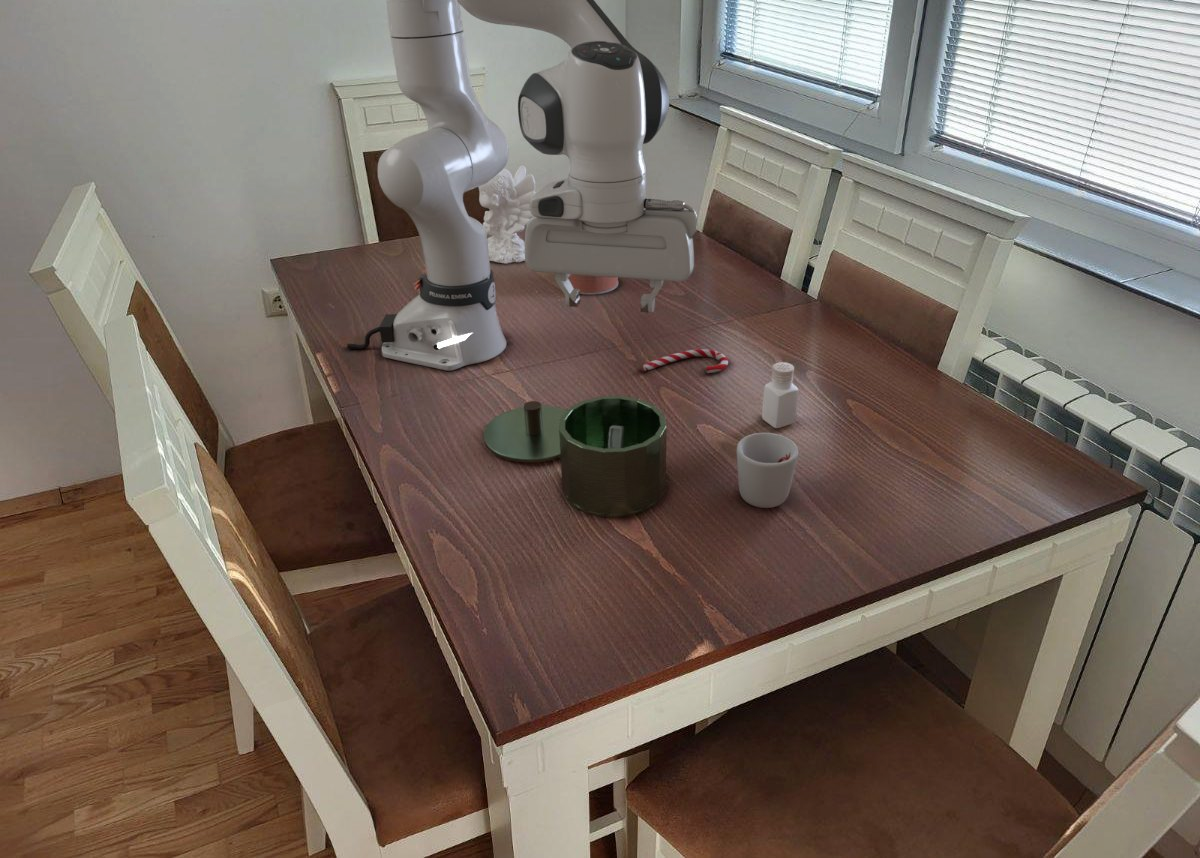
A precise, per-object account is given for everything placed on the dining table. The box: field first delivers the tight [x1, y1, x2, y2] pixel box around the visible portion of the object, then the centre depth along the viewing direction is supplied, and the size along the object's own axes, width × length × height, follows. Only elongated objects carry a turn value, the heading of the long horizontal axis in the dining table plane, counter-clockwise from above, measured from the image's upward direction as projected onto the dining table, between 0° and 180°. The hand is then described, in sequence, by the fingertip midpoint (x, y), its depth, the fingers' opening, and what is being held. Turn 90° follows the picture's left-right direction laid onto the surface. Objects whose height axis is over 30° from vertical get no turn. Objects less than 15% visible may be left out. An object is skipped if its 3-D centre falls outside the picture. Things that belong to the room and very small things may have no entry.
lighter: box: [608, 425, 624, 448], centre depth 121 cm, size 7×2×8 cm, turn 165°
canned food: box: [568, 274, 619, 296], centre depth 182 cm, size 11×11×12 cm
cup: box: [736, 432, 799, 509], centre depth 120 cm, size 11×8×8 cm
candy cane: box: [641, 348, 729, 374], centre depth 153 cm, size 8×1×15 cm
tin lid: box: [483, 400, 567, 463], centre depth 133 cm, size 15×15×6 cm
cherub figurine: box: [478, 165, 537, 264], centre depth 197 cm, size 13×12×20 cm
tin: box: [559, 395, 668, 518], centre depth 121 cm, size 14×14×10 cm
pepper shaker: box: [761, 361, 800, 429], centre depth 135 cm, size 4×4×10 cm
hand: (610, 307), depth 109 cm, fingers open, 8 cm apart
